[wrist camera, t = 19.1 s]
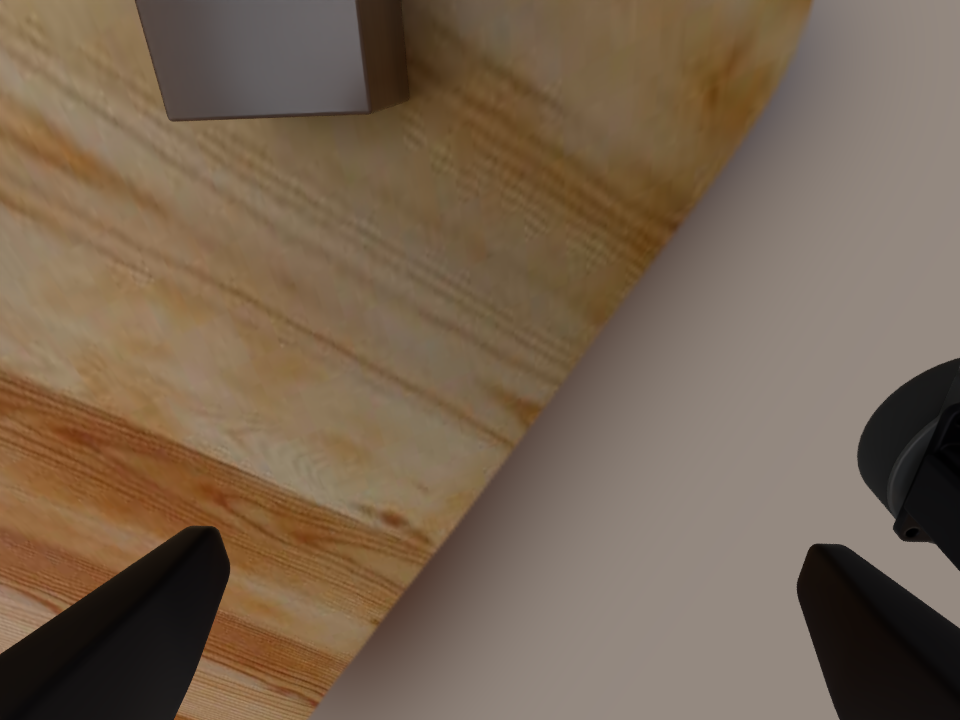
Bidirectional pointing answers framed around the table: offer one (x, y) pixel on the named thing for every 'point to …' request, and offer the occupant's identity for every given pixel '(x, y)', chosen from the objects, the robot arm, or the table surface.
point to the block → (275, 57)
